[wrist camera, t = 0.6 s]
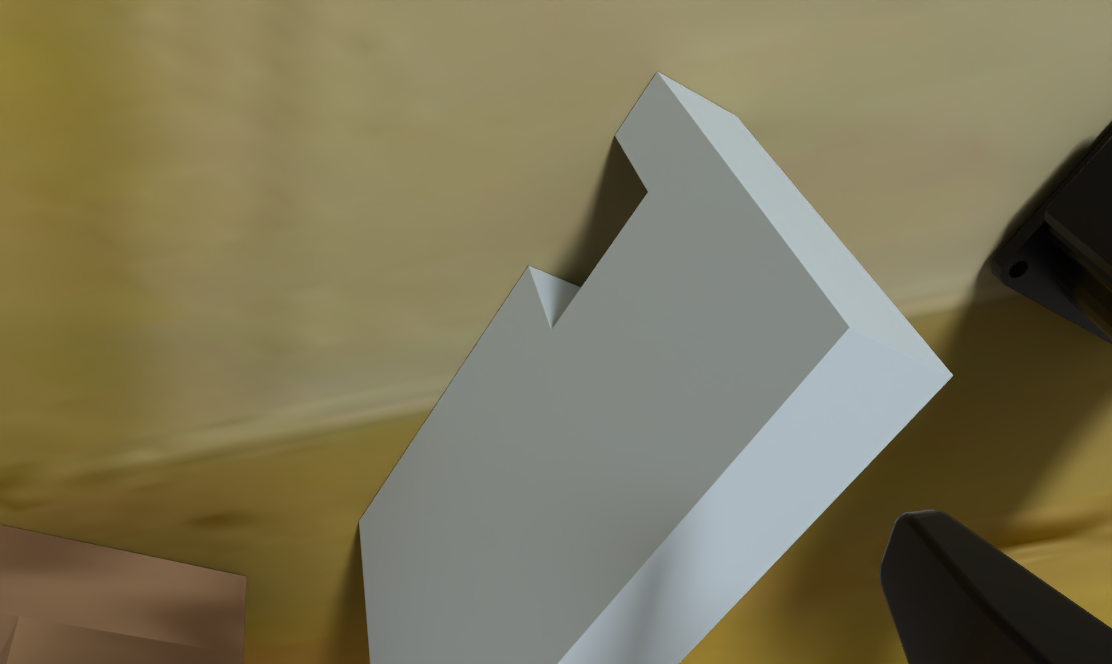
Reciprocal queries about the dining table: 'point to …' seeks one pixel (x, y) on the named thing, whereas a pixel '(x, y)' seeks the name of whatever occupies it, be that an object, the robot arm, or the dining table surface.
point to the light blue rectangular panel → (643, 421)
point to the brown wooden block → (113, 606)
